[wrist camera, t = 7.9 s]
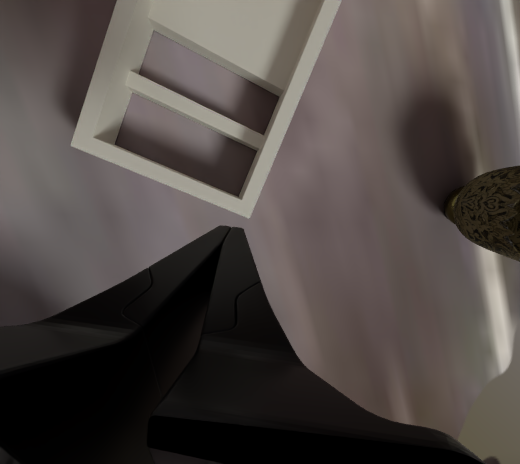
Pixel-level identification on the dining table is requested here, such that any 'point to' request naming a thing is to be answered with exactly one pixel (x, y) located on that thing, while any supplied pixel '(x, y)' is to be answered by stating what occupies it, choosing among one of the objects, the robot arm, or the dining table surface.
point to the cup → (489, 211)
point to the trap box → (222, 53)
